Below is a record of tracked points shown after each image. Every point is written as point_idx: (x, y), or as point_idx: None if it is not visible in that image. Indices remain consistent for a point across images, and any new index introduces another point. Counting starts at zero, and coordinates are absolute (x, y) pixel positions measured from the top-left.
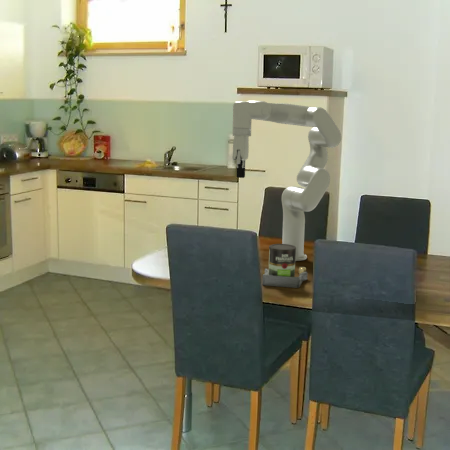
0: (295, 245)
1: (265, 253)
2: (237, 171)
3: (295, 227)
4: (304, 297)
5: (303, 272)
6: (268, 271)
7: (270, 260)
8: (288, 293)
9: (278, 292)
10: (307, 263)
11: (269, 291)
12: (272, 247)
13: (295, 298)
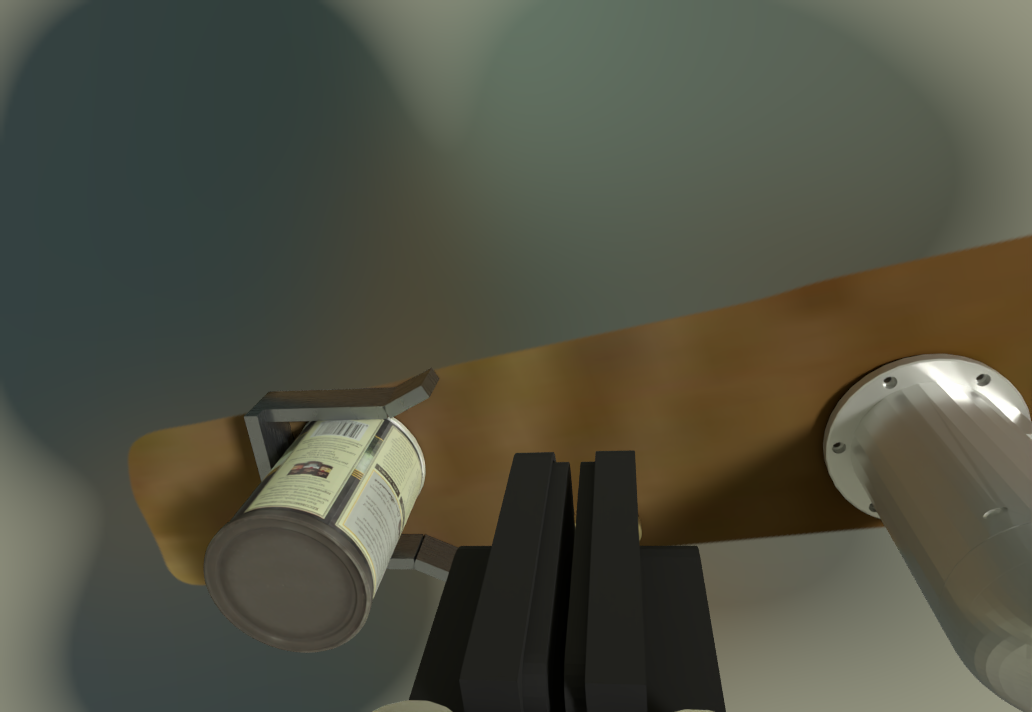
0: (880, 517)
1: (1028, 247)
2: (492, 590)
3: (933, 605)
4: (197, 575)
5: (438, 569)
6: (375, 415)
7: (261, 483)
8: (212, 515)
9: (202, 476)
10: (794, 529)
11: (194, 440)
12: (242, 536)
13: (165, 547)
